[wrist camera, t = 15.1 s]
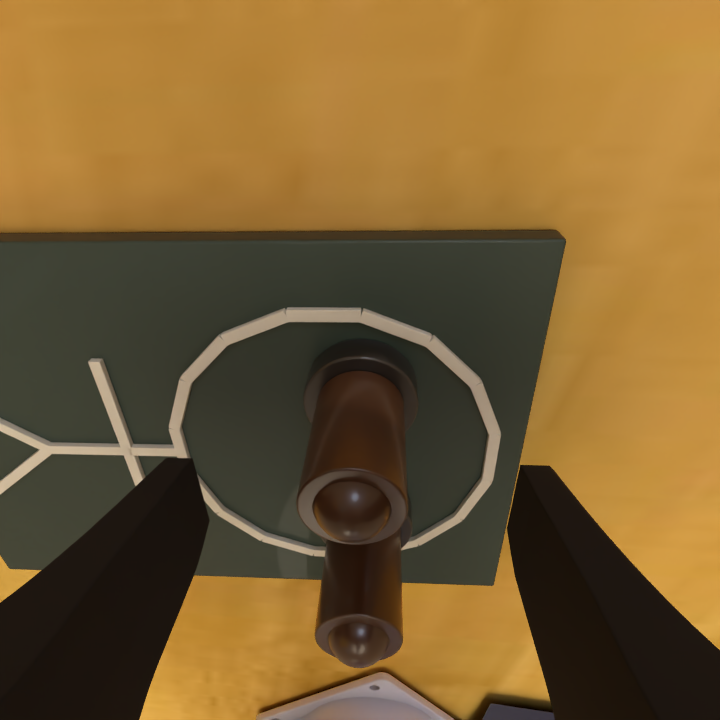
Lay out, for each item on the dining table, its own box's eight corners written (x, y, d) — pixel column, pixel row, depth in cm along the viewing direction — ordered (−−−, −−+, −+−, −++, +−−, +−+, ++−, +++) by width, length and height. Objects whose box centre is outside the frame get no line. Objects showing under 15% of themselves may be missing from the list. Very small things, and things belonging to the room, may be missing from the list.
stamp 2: (359, 546, 18) (349, 703, 14) (301, 499, 17) (270, 654, 13) (429, 513, 17) (443, 673, 13) (372, 459, 16) (366, 615, 11)
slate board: (21, 553, 21) (5, 574, 20) (-180, 233, 13) (-218, 245, 12) (490, 568, 20) (495, 591, 19) (558, 229, 12) (570, 241, 11)
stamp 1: (354, 442, 15) (340, 597, 11) (285, 376, 14) (238, 520, 10) (438, 393, 14) (460, 545, 10) (370, 316, 13) (361, 451, 9)
